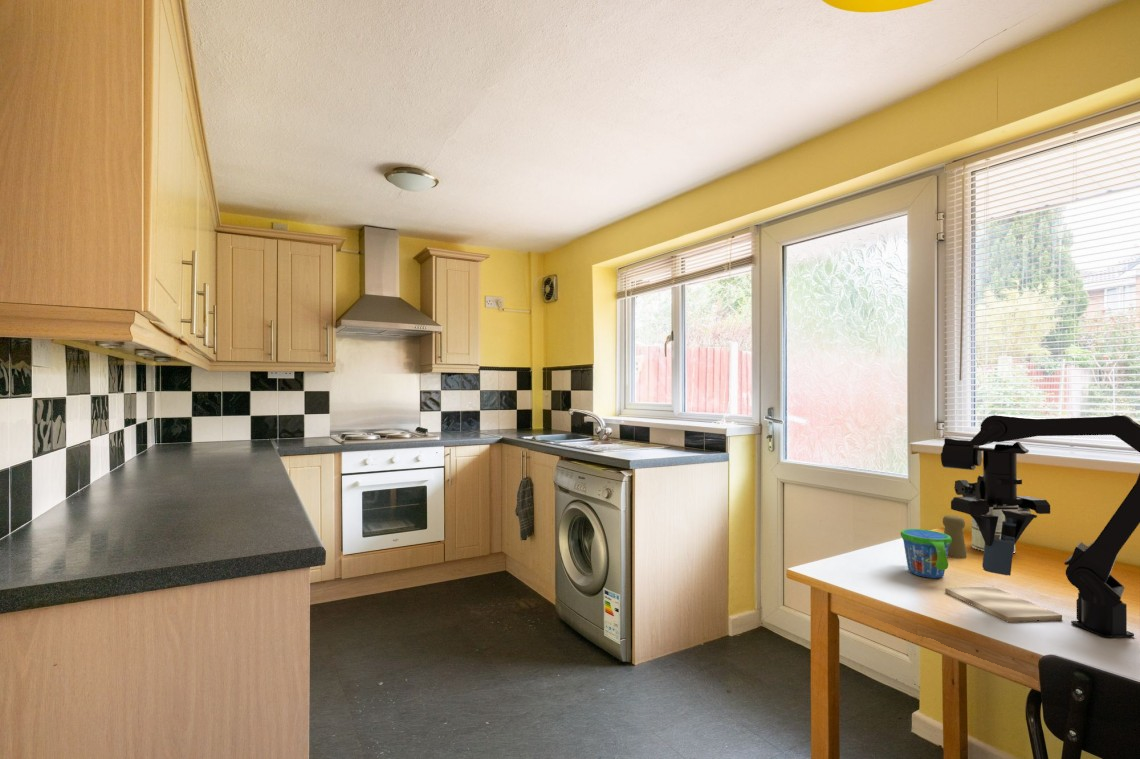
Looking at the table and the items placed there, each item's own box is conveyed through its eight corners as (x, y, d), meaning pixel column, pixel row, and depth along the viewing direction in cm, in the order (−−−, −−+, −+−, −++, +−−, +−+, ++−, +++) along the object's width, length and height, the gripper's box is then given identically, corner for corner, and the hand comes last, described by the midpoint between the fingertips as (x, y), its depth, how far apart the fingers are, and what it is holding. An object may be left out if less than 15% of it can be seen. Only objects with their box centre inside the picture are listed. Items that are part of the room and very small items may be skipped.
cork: (935, 553, 156) (935, 514, 156) (949, 550, 158) (949, 512, 158) (958, 559, 150) (958, 519, 150) (971, 556, 153) (971, 517, 153)
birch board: (1062, 620, 111) (1062, 615, 111) (1008, 622, 110) (1008, 617, 110) (992, 590, 127) (992, 586, 127) (945, 592, 125) (945, 588, 125)
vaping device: (1013, 576, 116) (1020, 520, 117) (985, 571, 117) (991, 515, 118) (1007, 573, 119) (1013, 518, 119) (979, 568, 120) (985, 513, 120)
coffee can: (969, 542, 167) (969, 496, 167) (1012, 548, 161) (1012, 500, 162) (972, 551, 158) (972, 502, 158) (1018, 557, 153) (1018, 506, 153)
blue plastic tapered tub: (891, 562, 147) (891, 524, 147) (936, 566, 144) (936, 527, 144) (913, 582, 132) (914, 540, 132) (964, 587, 129) (963, 543, 129)
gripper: (1005, 467, 128) (1005, 534, 127) (931, 467, 126) (931, 536, 125) (1052, 474, 117) (1052, 548, 116) (972, 475, 115) (972, 550, 114)
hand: (1000, 545), depth 118 cm, fingers closed on vaping device, 5 cm apart
